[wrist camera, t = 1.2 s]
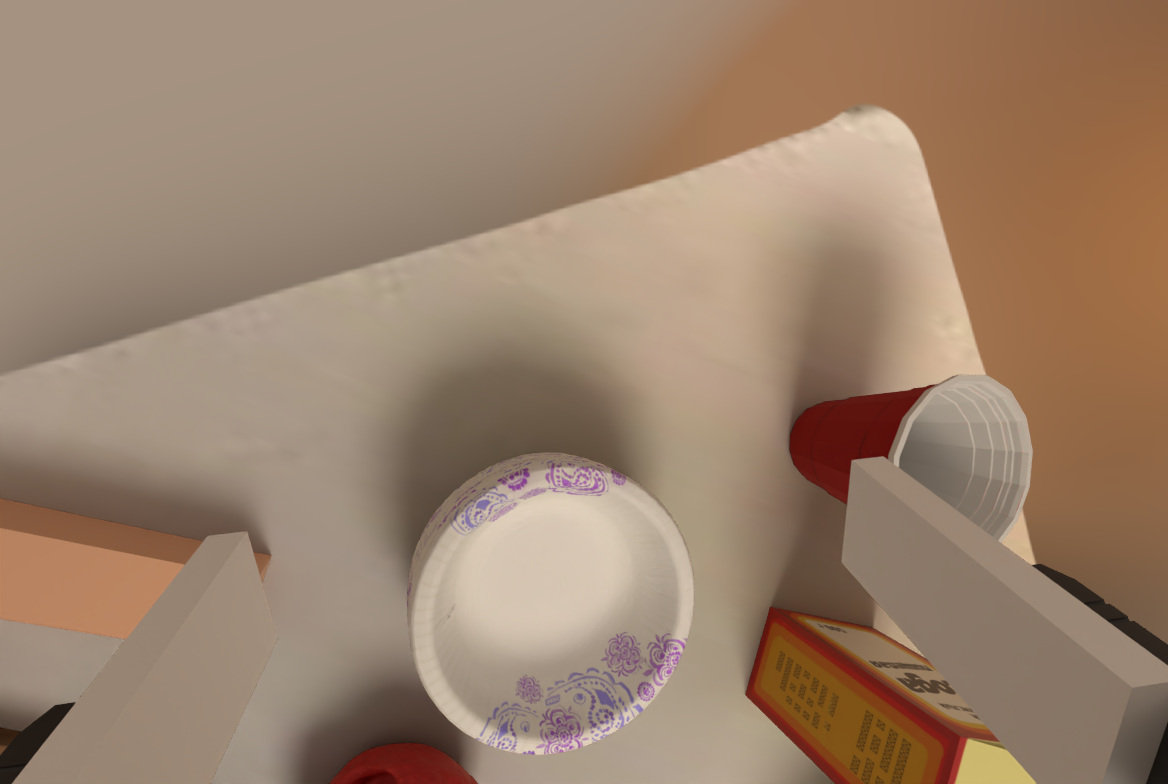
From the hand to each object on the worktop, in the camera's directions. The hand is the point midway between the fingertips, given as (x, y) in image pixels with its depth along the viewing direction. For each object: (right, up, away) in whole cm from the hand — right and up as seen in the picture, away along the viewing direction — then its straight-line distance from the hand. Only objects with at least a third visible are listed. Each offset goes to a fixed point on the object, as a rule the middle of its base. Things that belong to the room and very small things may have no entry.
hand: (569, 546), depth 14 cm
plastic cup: (+18, 0, +31) cm, 36 cm away
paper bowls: (-3, -7, +26) cm, 27 cm away
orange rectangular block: (-24, -5, +19) cm, 31 cm away
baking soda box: (+17, -16, +32) cm, 40 cm away
